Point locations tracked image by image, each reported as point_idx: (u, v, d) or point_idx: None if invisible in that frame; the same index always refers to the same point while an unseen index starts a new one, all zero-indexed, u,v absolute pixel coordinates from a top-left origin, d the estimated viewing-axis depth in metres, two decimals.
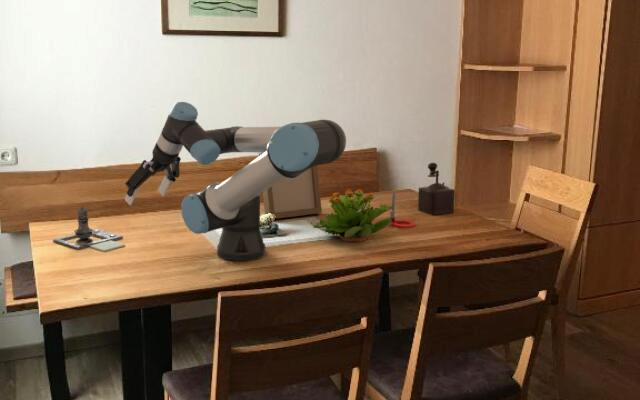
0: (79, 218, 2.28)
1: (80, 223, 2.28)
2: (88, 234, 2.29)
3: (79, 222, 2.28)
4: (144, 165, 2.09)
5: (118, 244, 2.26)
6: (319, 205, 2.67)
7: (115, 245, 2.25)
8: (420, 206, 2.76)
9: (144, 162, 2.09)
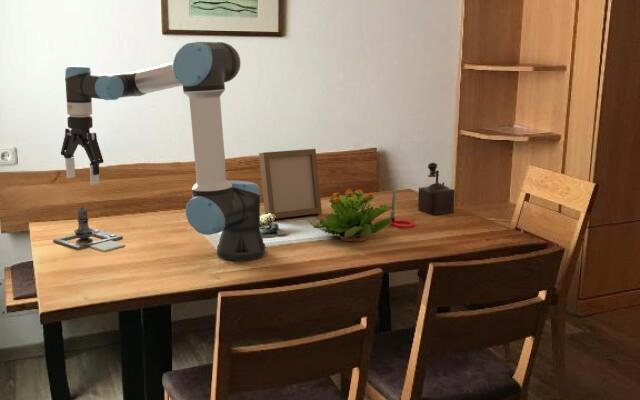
0: (79, 218, 2.28)
1: (80, 223, 2.28)
2: (88, 234, 2.29)
3: (79, 222, 2.28)
4: (93, 136, 2.19)
5: (118, 244, 2.26)
6: (319, 205, 2.67)
7: (115, 245, 2.25)
8: (420, 206, 2.76)
9: (91, 134, 2.18)
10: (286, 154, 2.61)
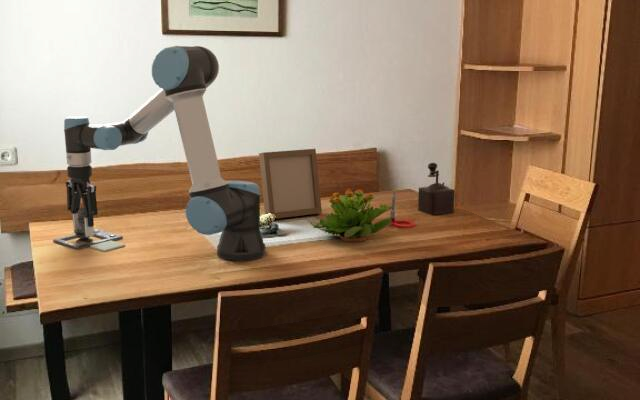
0: (79, 218, 2.28)
1: (80, 223, 2.28)
2: None
3: (79, 222, 2.28)
4: (92, 189, 2.23)
5: (118, 244, 2.26)
6: (319, 205, 2.67)
7: (115, 245, 2.25)
8: (420, 206, 2.76)
9: (91, 188, 2.22)
10: (286, 154, 2.61)
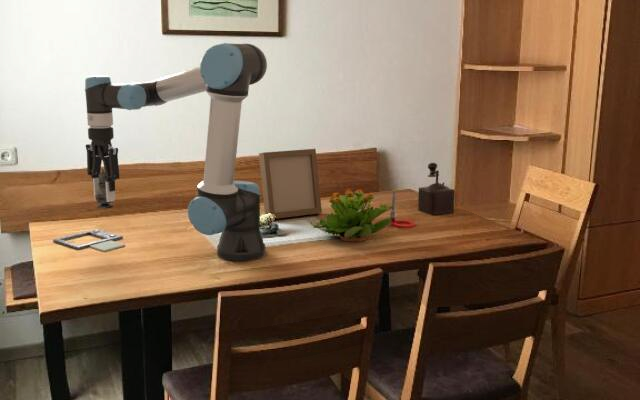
0: (100, 182, 2.19)
1: (101, 188, 2.19)
2: None
3: (100, 186, 2.19)
4: (114, 152, 2.14)
5: (118, 244, 2.26)
6: (319, 205, 2.67)
7: (115, 245, 2.25)
8: (420, 206, 2.76)
9: (113, 150, 2.13)
10: (286, 154, 2.61)
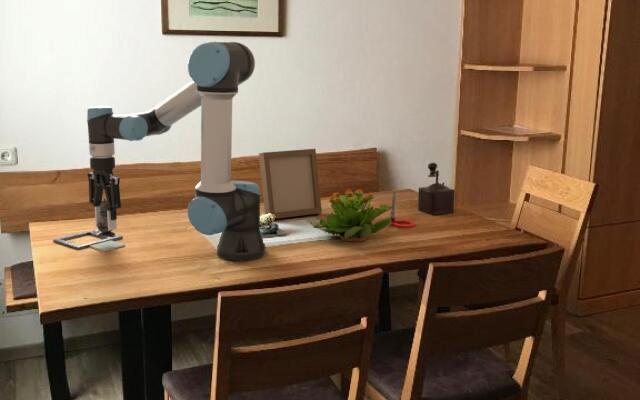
0: (101, 211, 2.21)
1: (103, 216, 2.21)
2: None
3: (101, 215, 2.22)
4: (116, 181, 2.16)
5: (118, 244, 2.26)
6: (319, 205, 2.67)
7: (115, 245, 2.25)
8: (420, 206, 2.76)
9: (114, 180, 2.16)
10: (286, 154, 2.61)
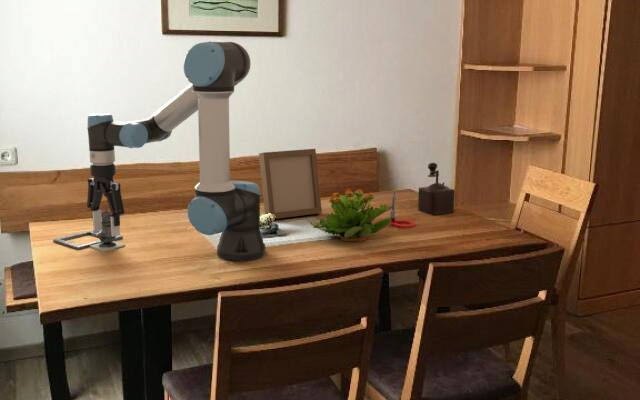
0: (103, 221, 2.22)
1: (104, 227, 2.22)
2: (112, 238, 2.23)
3: (103, 225, 2.22)
4: (117, 187, 2.16)
5: (118, 244, 2.26)
6: (319, 205, 2.67)
7: None
8: (420, 206, 2.76)
9: (115, 185, 2.16)
10: (286, 154, 2.61)
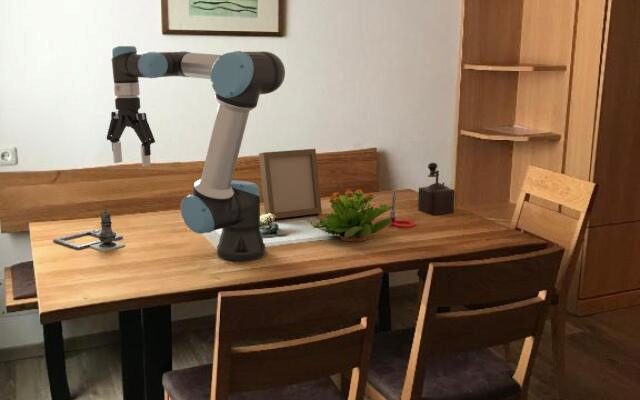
0: (102, 222, 2.22)
1: (103, 227, 2.22)
2: (111, 238, 2.23)
3: (102, 226, 2.22)
4: (143, 116, 2.15)
5: (118, 244, 2.26)
6: (319, 205, 2.67)
7: (115, 245, 2.25)
8: (420, 206, 2.76)
9: (141, 114, 2.15)
10: (286, 154, 2.61)
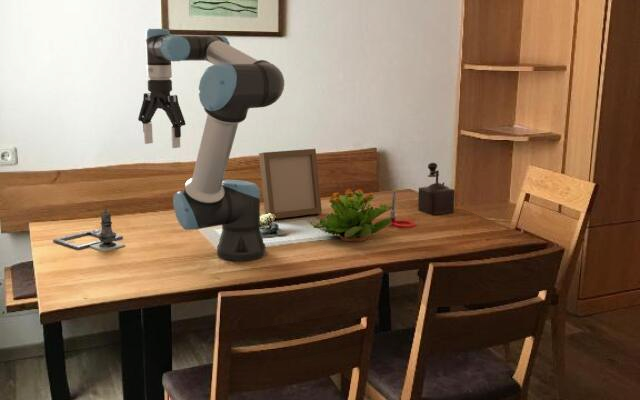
0: (102, 222, 2.22)
1: (104, 227, 2.22)
2: (111, 238, 2.23)
3: (102, 226, 2.22)
4: (174, 98, 2.19)
5: (118, 244, 2.26)
6: (319, 205, 2.67)
7: None
8: (420, 206, 2.76)
9: (172, 96, 2.18)
10: (286, 154, 2.61)
